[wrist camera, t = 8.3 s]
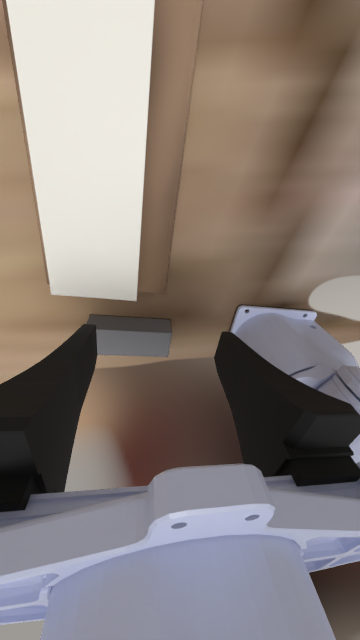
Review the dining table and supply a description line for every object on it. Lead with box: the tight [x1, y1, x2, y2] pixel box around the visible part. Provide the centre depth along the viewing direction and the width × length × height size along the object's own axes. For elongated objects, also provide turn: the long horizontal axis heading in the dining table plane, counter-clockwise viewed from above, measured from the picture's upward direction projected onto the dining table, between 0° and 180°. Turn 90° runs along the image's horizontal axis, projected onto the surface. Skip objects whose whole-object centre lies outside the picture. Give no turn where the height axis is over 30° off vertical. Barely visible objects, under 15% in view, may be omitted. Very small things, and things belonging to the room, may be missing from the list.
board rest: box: [87, 315, 172, 357], centre depth 23 cm, size 8×3×2 cm, turn 81°
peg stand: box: [2, 0, 203, 294], centre depth 14 cm, size 10×18×5 cm, turn 171°
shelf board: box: [6, 0, 155, 301], centre depth 11 cm, size 14×5×2 cm, turn 171°
